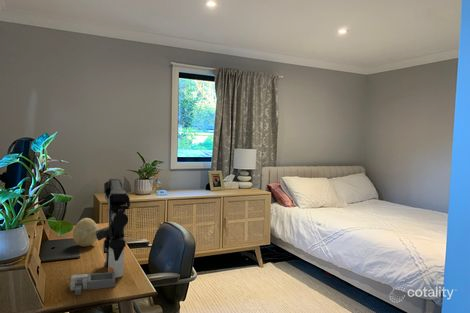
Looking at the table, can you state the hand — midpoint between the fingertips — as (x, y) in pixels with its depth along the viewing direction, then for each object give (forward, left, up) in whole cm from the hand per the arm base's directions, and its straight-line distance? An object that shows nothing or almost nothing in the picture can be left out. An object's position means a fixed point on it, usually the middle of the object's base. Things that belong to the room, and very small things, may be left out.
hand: (116, 257), depth 145 cm
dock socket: (+8, -5, -8) cm, 12 cm away
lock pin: (+11, -13, -8) cm, 19 cm away
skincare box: (0, 0, -8) cm, 8 cm away
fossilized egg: (-44, -14, -8) cm, 47 cm away
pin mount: (+9, -13, -8) cm, 18 cm away
